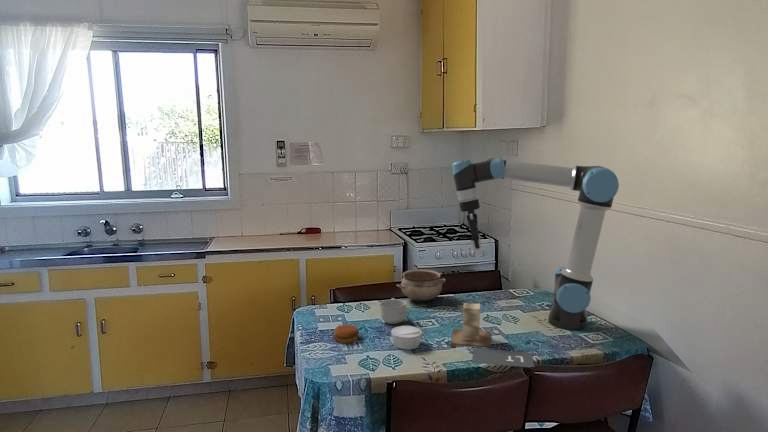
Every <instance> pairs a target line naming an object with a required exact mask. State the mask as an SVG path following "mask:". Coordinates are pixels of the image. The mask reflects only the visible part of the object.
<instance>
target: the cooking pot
mask: <svg viewBox="0 0 768 432" xmlns="http://www.w3.org/2000/svg"><path fill="white" fill-rule="evenodd" d="M402 276H403V277H402V279H401V283H400V284H398V283H397V284H396V287H397V288H400V289H401V291H402V293H403V295H404V296H406V297H408V298H409V299H410V300H413V301H414V302H416V303H427V302H429V301H431V300H433V299H435V298H437V297H438V296H439V295H440V293H441V292H442V290H443V284H444V283H445V282H447V281H446V278H440V277H441V273H439V272H438V271H435V270H430V269H410V270H406V271H404V272H403V273H402Z"/></svg>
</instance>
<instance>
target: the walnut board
mask: <svg viewBox="0 0 768 432" xmlns="http://www.w3.org/2000/svg"><path fill="white" fill-rule="evenodd" d="M462 333H463V328H462V329H461V328H460V329H459V328H453V329H452V335H451V340H450V348H457V346H466V347H467V346H468V347H479V348H491V331H487V330H479V341H475V340H462Z"/></svg>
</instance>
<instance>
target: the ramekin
mask: <svg viewBox="0 0 768 432" xmlns="http://www.w3.org/2000/svg"><path fill="white" fill-rule="evenodd" d="M390 331H391V332H390V334H391V337H392V343H393V346H394V347H395V348H398V349H400V350H414V349H416V348H418V347H419V346H420V343H421V338H422V336H423V335H422V334H423V332H422V329H421V328H419V327H417V326H412V325H400V326H396V327H393V328H392V329H391V330H390Z"/></svg>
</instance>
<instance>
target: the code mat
mask: <svg viewBox="0 0 768 432" xmlns="http://www.w3.org/2000/svg"><path fill="white" fill-rule="evenodd" d="M471 363H472V364H474V363H475V364H485V365H498V366H509V367H520V368H531V367H534V368H535V364H534V363H535V362H534V357H533V353H532V352H522V351H510V350H508V351H507V350H497V349H483V348H472V360H471Z"/></svg>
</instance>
